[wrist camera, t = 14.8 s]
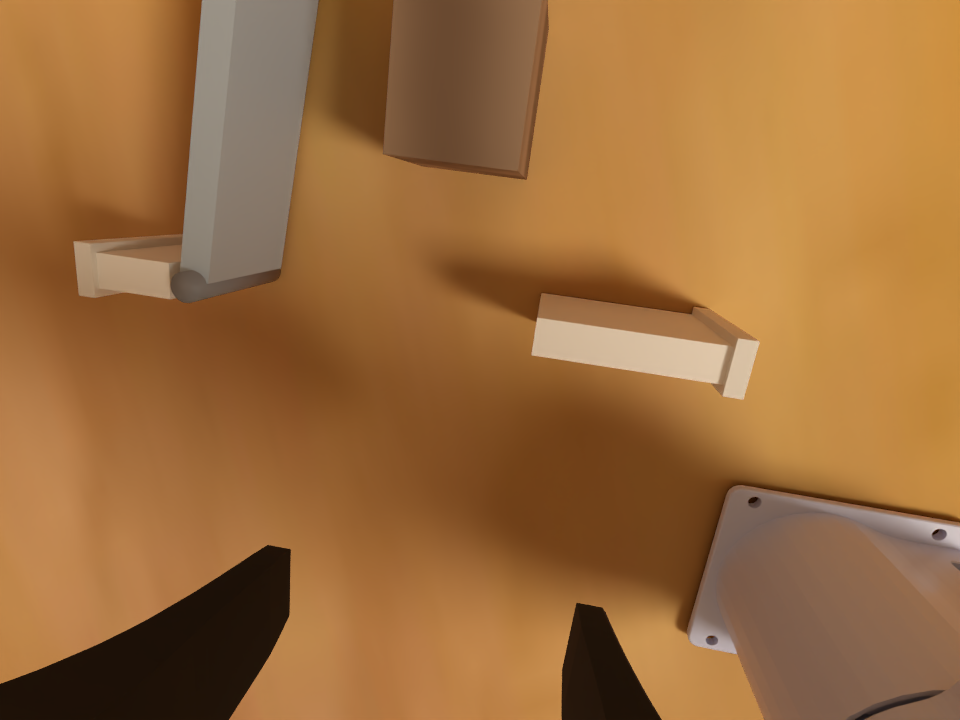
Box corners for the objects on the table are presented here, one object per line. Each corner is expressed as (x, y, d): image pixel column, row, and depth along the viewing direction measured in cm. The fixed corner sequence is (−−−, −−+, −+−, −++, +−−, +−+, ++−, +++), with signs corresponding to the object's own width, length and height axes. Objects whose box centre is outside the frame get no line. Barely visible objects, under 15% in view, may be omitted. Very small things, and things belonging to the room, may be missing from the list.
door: (263, -41, 19) (158, -130, 14) (322, -26, 19) (237, -112, 14) (229, 270, 22) (135, 288, 17) (279, 284, 22) (198, 306, 17)
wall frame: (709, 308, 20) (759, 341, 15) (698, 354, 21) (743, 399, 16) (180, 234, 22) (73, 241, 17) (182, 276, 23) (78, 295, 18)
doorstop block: (548, 29, 18) (546, -32, 14) (526, 179, 20) (518, 171, 15) (437, 18, 19) (396, -46, 14) (423, 166, 20) (382, 153, 16)
